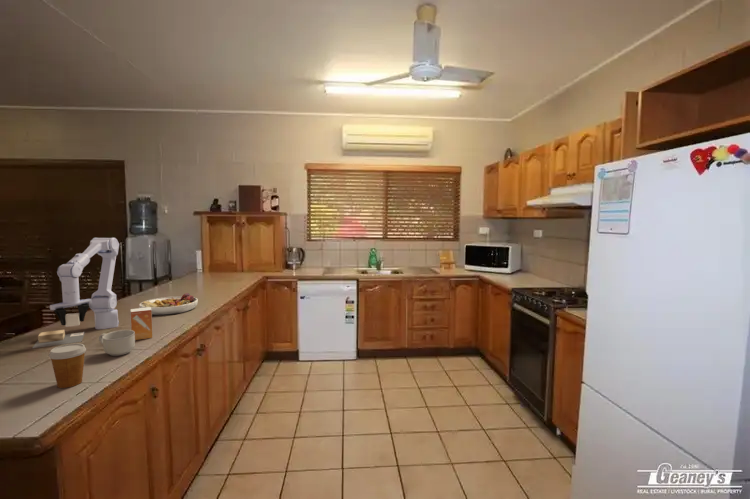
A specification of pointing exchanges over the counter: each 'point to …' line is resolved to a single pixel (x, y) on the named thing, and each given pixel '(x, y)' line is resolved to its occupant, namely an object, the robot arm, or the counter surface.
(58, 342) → the board
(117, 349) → the teacup
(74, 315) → the cream cube
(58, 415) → the counter surface
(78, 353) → the disposable coffee cup
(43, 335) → the oak base brick
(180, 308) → the bowl
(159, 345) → the counter surface
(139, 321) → the small box
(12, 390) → the counter surface
